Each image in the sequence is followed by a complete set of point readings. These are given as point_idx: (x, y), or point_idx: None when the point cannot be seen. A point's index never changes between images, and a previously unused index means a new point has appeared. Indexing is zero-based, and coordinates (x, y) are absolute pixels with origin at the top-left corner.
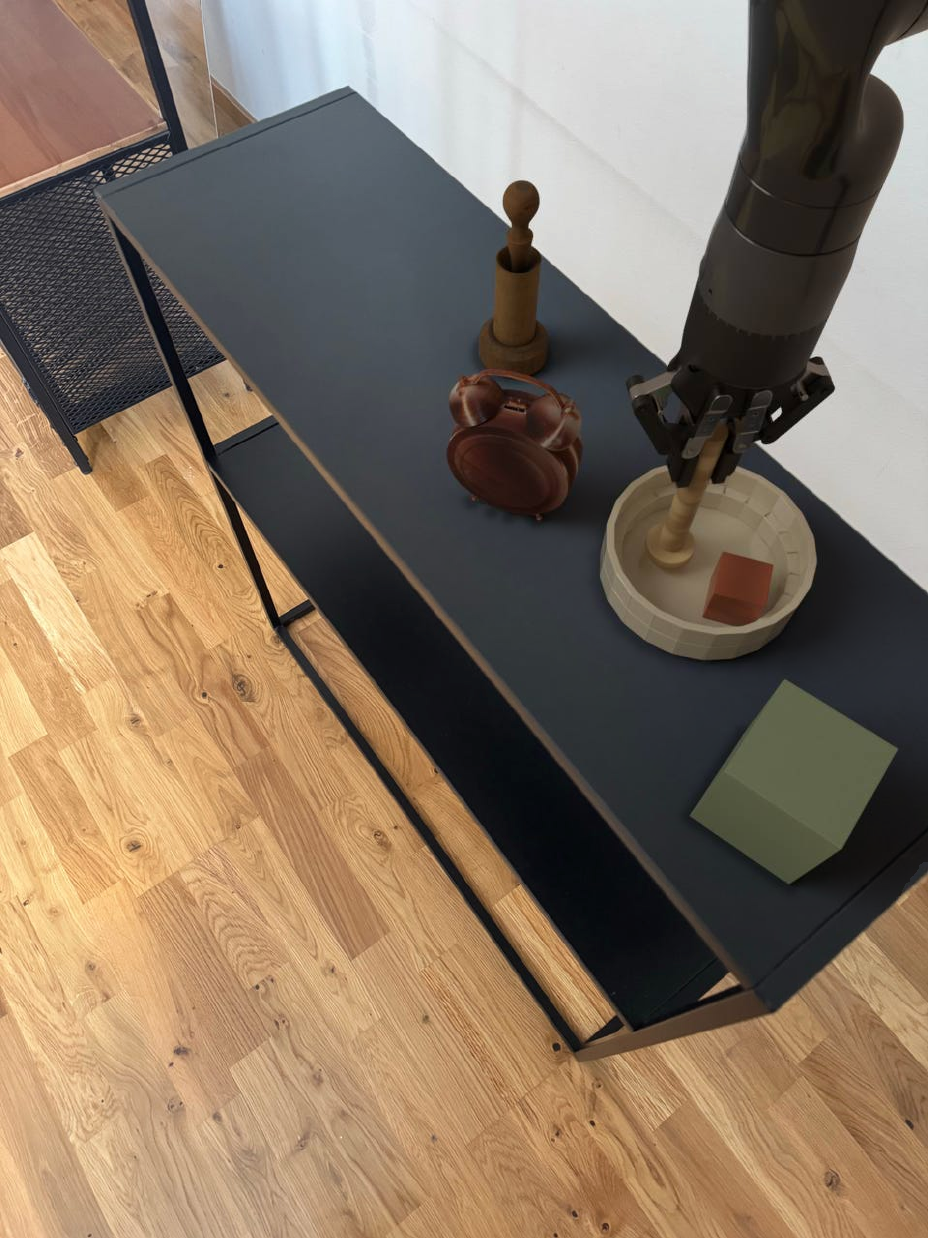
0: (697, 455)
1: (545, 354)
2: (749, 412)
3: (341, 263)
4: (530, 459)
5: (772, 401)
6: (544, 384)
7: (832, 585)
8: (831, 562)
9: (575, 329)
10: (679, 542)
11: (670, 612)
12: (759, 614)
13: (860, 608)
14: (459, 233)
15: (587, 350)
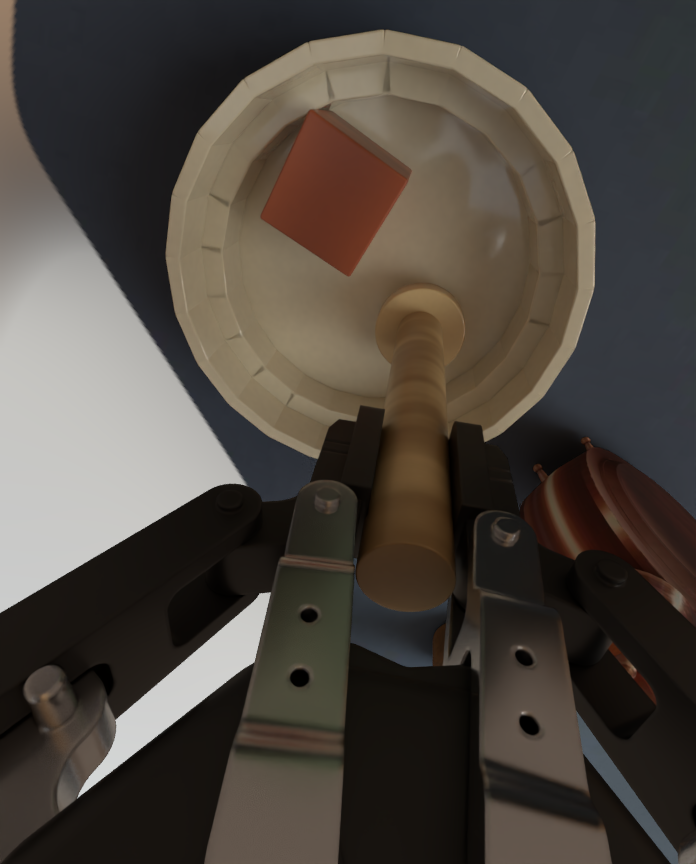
0: (464, 510)
1: (443, 637)
2: (332, 704)
3: (603, 771)
4: (683, 564)
5: (191, 626)
6: None
7: (154, 180)
8: (146, 228)
9: (385, 644)
10: (420, 322)
11: (466, 199)
12: (320, 110)
13: (113, 113)
14: None
15: (382, 621)
